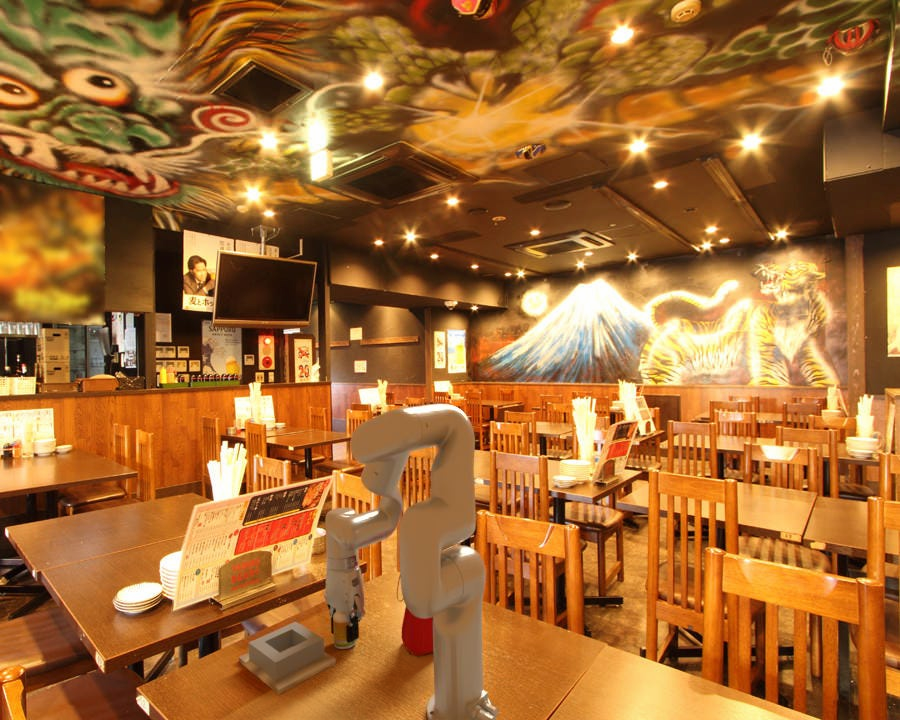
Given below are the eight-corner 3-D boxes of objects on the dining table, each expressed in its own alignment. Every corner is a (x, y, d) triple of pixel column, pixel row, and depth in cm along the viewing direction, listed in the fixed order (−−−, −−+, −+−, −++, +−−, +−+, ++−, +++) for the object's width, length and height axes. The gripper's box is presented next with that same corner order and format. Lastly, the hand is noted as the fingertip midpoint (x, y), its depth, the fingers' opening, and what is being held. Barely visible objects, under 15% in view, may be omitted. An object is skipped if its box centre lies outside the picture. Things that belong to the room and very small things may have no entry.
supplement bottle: (351, 650, 120) (350, 609, 120) (330, 648, 121) (328, 607, 121) (360, 638, 125) (358, 598, 125) (339, 636, 126) (338, 597, 126)
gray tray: (335, 663, 115) (335, 658, 115) (279, 694, 105) (279, 689, 105) (293, 635, 127) (293, 631, 127) (238, 661, 117) (238, 657, 117)
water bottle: (391, 643, 123) (389, 540, 123) (432, 631, 128) (430, 532, 128) (406, 663, 115) (403, 553, 115) (449, 649, 120) (446, 543, 120)
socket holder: (324, 656, 116) (323, 638, 116) (276, 681, 108) (275, 662, 108) (296, 637, 125) (295, 621, 125) (249, 660, 116) (248, 642, 116)
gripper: (377, 564, 120) (380, 641, 120) (334, 548, 131) (336, 618, 131) (351, 574, 114) (354, 655, 114) (309, 557, 126) (311, 630, 126)
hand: (345, 635), depth 123 cm, fingers closed on supplement bottle, 5 cm apart
